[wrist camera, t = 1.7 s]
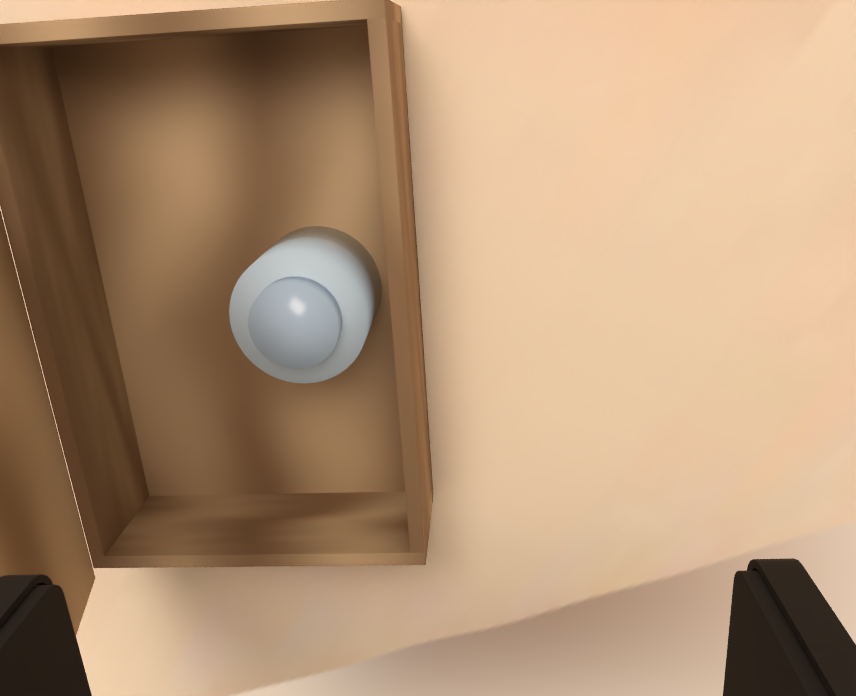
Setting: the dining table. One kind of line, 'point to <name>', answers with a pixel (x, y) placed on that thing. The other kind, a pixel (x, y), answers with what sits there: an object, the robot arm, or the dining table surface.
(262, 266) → the blue jar
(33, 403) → the lid
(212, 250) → the box
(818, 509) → the dining table surface
